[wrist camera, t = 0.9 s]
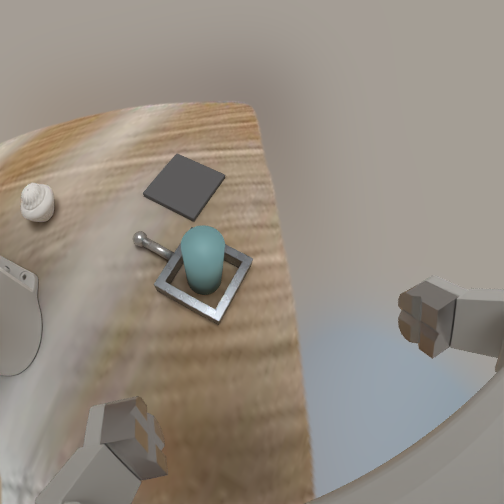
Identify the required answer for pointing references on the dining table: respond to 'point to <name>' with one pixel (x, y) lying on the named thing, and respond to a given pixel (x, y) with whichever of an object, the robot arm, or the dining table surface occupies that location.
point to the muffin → (37, 202)
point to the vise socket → (174, 265)
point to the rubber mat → (184, 186)
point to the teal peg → (203, 258)
